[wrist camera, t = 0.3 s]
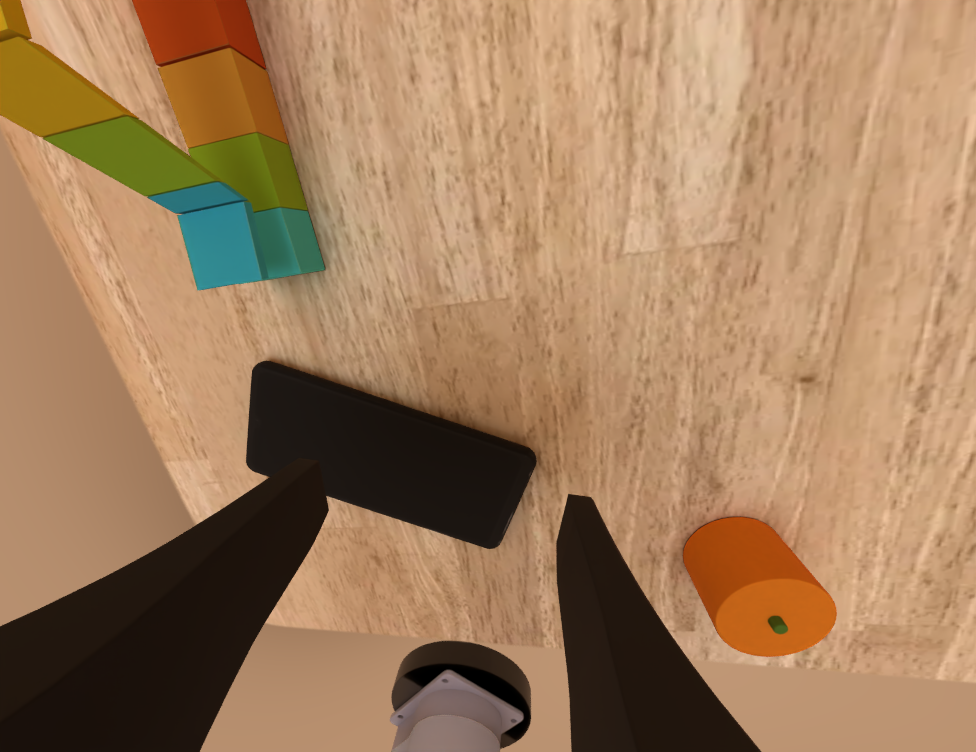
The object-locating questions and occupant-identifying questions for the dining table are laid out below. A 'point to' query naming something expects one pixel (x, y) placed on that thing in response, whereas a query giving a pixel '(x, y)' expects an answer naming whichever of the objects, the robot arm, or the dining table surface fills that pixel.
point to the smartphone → (387, 455)
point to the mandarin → (757, 588)
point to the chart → (204, 124)
